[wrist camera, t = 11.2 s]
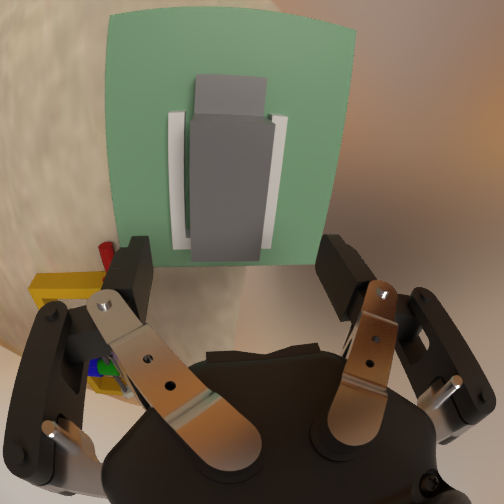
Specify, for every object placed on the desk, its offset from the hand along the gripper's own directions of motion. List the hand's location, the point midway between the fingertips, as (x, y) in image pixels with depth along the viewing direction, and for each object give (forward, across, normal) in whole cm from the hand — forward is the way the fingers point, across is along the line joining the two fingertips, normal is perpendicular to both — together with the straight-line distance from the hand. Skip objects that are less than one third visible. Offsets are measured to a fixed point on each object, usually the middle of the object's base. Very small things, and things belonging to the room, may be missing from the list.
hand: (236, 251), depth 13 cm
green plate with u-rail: (+14, 0, -2) cm, 14 cm away
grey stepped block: (+12, 0, -1) cm, 12 cm away
